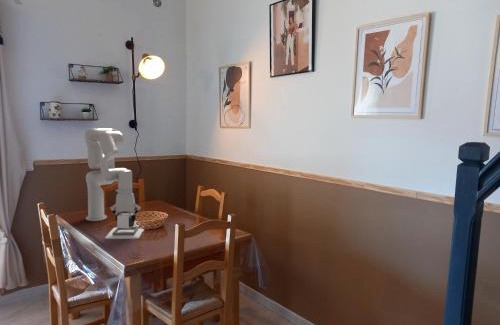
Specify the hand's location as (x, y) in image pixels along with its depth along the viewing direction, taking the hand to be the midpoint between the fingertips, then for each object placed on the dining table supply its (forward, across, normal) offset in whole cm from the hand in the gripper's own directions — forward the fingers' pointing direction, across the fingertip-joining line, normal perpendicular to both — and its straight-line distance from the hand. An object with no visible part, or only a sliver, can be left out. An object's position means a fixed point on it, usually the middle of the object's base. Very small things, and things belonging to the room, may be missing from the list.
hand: (125, 221), depth 196 cm
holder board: (+7, 0, 0) cm, 7 cm away
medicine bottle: (+4, 0, 0) cm, 4 cm away
